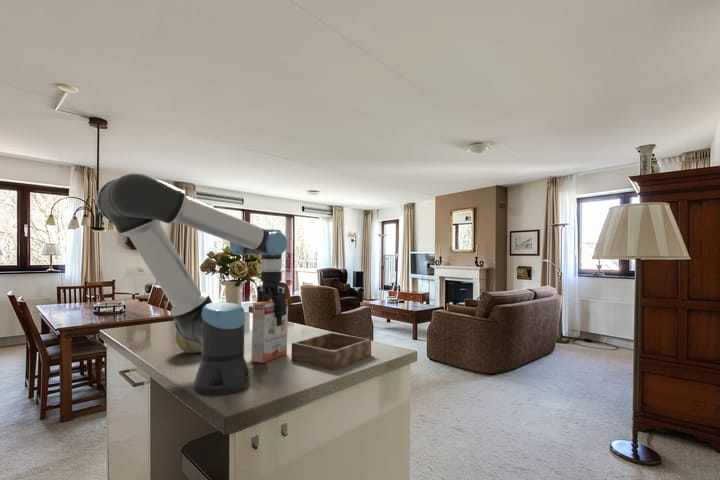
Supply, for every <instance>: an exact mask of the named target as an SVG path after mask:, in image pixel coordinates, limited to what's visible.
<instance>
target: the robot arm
mask: <svg viewBox="0 0 720 480" xmlns="http://www.w3.org/2000/svg"><path fill="white" fill-rule="evenodd" d="M96 206H97V209H98V210H99V213H100V214H101V215H102V216H103V217H105V218H106V219H107V220H108V221H110V222H111V223H112V225H113V226H114V228H115V229H116V230H117V232H118V234H119V235H120V236H121V235H122V236H126V237H128V238H129V239H130V240H131V242H132V244H133V246H134V247H135V249H136V250H137V252H138V253H139V255H140V257H141V258H142V260H143V262H144V263H145V265H146V266H147V268H148V269H149V271H150V272H151V274H152V276H153V277H154V279H155V280H156V282H157V283H158V286H159V287H160V289H161V290H162V292H163V293H164V295H165V297H166V298H167V299H168V302H170V304H171V306H172V308H171V309H170V316H171V317H172V318H173V326H174V328H175V332H176V331H177V332H178V333H179V334H180V335H181V336H182V337H183V338H185V339H186V340H189V341H193V342H197V343H200V344H202V345H201V352H200V353H201V356H200V357H201V358H200V359H201V360H200V364H199V367H198V369H197V372H196V375H195V378H194V380H193V392H194V393H195V394H198V395H199V396H200V395H201V396H208V397H217V396H218V397H219V396H226V395H231V394H235V393H238V392H240V391H243V390H245V389H246V388H248V387H249V386H250V384H251V375H250V373H249V369H248V365H247V362H246V359H245V330H246V329H245V328H246V327H245V325H246V324H245V323H246V315H245V314H246V313H245V309H244V308H243V306H242V305H240V304H237V303H234V302H225V301H221V302H220V301H217V302H215V301H214V302H213V300H212V299H211V297H210V296H209V294H208V292H204V291H201V290H200V289H199V287H198V285H197V283H196V282H195V280H194V279H193V277H192V276H191V274H190V273H191V272H190V271H189V270H188V268H187V267H186V265H185V264H184V261H183V260H182V258H181V256H180V255H179V253H178V251H177V250H176V248H175V246H174V244H173V243H172V241H171V240H170V238H169V236H168V234H167V232H166V231H165V229H164V227H163V226H162V224H161V222H163V223H166V224H172V223H178V224H180V225H183V226H186V227H189V228H192V229H193V230H197V231H200V232H203V233H206V234H208V235H211V236H214V237H216V238H220V239H222V240H225V241H227V242H229V249H230V252H231V253H232V254H233V255H239V256H244V255H245V256H260V270H261V272H260V281H261V282H262V285H258V286H256V292H257V293H256V303H257V302H263V301H269V300H272V301H273V302H274V311H275V315H276V316H274V335H279V334H281V325H282V316H284V315H286V300H287V299H286V293H287V288H286V287H282V286H281V284H280V283H281V282H282V278H283V277H282V276H283V275H282V273H283V272H282V271H281V270H282V263H283V262H282V261H283V259H282V258H283V253H284V252H285V251H286V250H287V247H288V239H287V237H286V236H285V234H284V233H282V230H280V229H272V228H269V229H267V228H262V227H260V226H257V225H255V224H253V223H251V222H249V221H246V220H243V219H241V218H239V217H237V216H234V215H232V214H229V213H227V212H224V211H223V210H220V209H217V208H215V207H213V206H211V205H209V204H207V203H204V202H201V201H199V200H197V199H194V198H192V197H189V196H187V194H186V192H185V190H183V189H180V188H178V187H176V186H173V185H172V184H168V183H167V182H165V181H162V180H160V179H157V178H155V177H152V176H149V175H146V174H143V173H129V174H125V175H122V176H120V177H118V178H115V179H112V180H110V181H108V182H106V183H105V184H104V185H102V187H101V188H100V189H99V191H98V193H97V196H96Z"/></svg>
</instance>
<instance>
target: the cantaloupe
mask: <svg viewBox="0 0 720 480" xmlns="http://www.w3.org/2000/svg"><path fill="white" fill-rule="evenodd" d="M174 337H175V342H176V344H177V346H178V347H179V349H180V350H181V351H182V352H185V353H188V354H198V353H201V345H202V344H200V343H197V342H193V341H189V340H186V339H185V338H183V337H182V336H181V335H180V334H179V333H178V332H177V331H176V330H175V336H174Z"/></svg>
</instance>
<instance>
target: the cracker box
mask: <svg viewBox="0 0 720 480" xmlns="http://www.w3.org/2000/svg"><path fill="white" fill-rule="evenodd" d="M288 314H289V300H288V299H286V315H284V316H282V325H281V334H279V335H274V316H276V315H275V311H274V302H273V301H272V299H270V300H269V301H263V302H257V301H256V302H253V303H252V324H251V325H252V327H251V328H252V330H251V331H252V333H251V361H250V362H255V363H260V364H266V363H268V362H270V361H272V360H276V359H278V358H280V357H283V356H285V355H287V353H288V322H289V319H288V318H289V316H288Z"/></svg>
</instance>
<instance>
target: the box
mask: <svg viewBox="0 0 720 480" xmlns="http://www.w3.org/2000/svg"><path fill="white" fill-rule="evenodd" d="M370 356H372V338H367V337H359V336H356V335H347V334H342V333H337V332H327V333H324V334H320V335H317V336H312V337H309V338H305V339H301V340H298V341H295V342H291V360H292V361H295V362H298V363H299V362H300V363H302V364H303V363H304V364H308V365H311V366H315V367H319V368H323V369H327V370H330V371H336V370H338V368H339V369H341V368H343V367H345V365H346V366H348V365H351V364H353V363H355V362H358V361H360V359H361V360H363V359H365V358H368V357H370ZM350 363H351V364H350ZM340 367H341V368H340Z"/></svg>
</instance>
